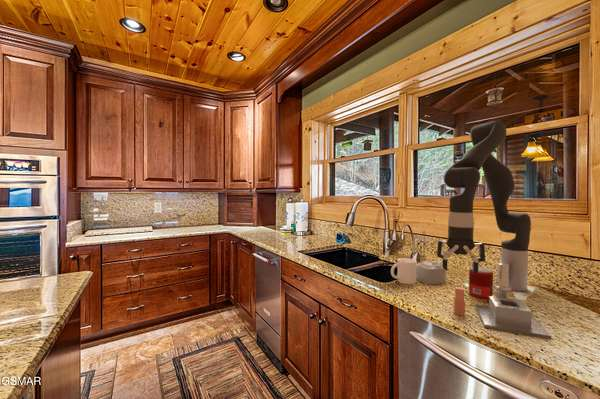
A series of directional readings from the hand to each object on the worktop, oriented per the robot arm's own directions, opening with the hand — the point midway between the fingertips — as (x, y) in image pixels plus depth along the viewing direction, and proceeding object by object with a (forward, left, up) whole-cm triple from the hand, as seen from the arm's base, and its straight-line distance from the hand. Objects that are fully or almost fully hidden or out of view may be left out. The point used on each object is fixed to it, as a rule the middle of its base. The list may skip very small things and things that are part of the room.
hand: (459, 271), depth 92 cm
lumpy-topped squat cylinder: (-35, -7, -15) cm, 38 cm away
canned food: (-22, +10, -15) cm, 29 cm away
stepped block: (0, 0, -15) cm, 15 cm away
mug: (-26, -20, -15) cm, 36 cm away
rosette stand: (-1, +14, -15) cm, 21 cm away
